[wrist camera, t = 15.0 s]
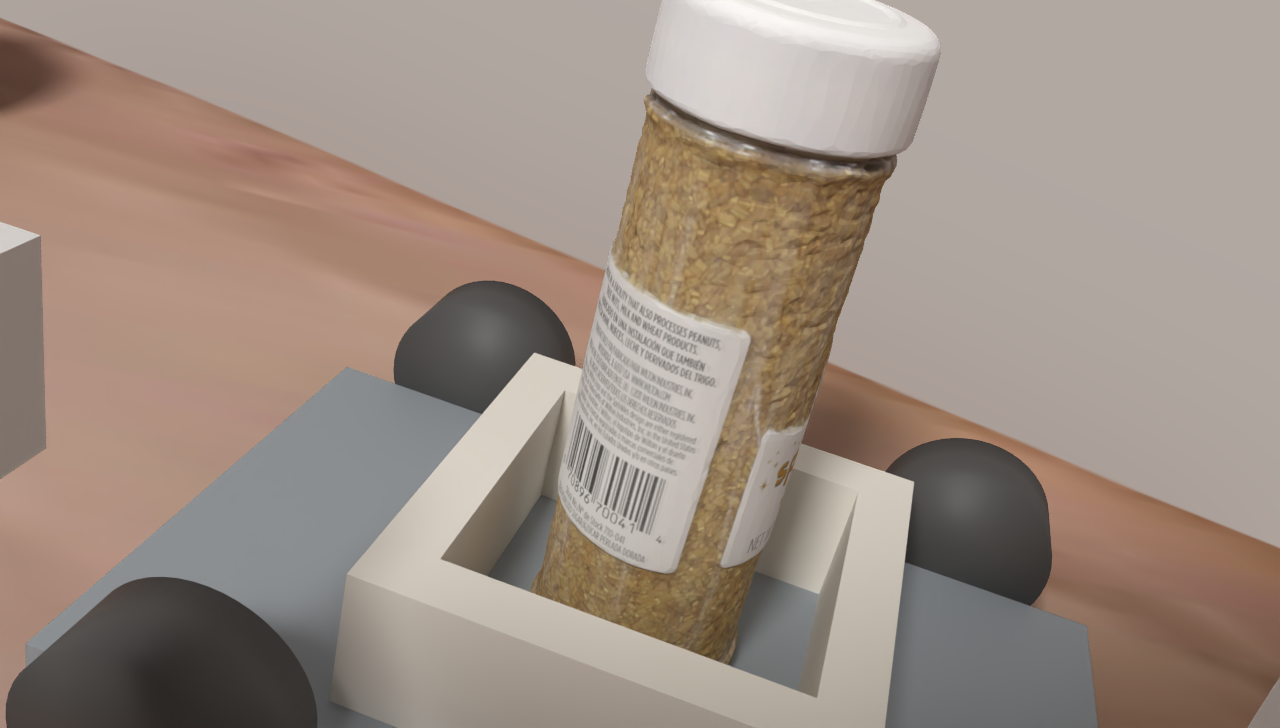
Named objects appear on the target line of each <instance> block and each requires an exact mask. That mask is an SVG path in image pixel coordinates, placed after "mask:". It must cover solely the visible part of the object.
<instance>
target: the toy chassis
mask: <svg viewBox="0 0 1280 728" xmlns="http://www.w3.org/2000/svg"><path fill="white" fill-rule="evenodd" d="M581 373H582V369H581V368H578V367H575V356H574V350H573V346H572V343H571V340H570V338H569V335H568V333H567V331H566V329H565V327H564V325H563V324H562V322H561V321H560V320H559V318H558V317H557V315H556V314H555V313H554V312H553V311H552V310H551V309H550V307H548V306H547V305H546V304H545V303H544V302H543V301H542V300H540V299H539V298H537V297H536V296H535V295H533V294H532V293H530V292H528V291H526V290H524V289H522V288H520V287H517V286H515V285H512V284H508V283H504V282H498V281H477V282H472V283H468V284H464V285H462V286H460V287H458V288H456V289H454V290H452V291H451V292H449V293H448V294H447V295H446V296H445V297H443V298H442V299H441V300H440V301H439V302H438V303H437V304H436V305H434V306H433V307H432V308H431V309H430V310H429V311H428V312H427V313H425V314H424V315H423V316H422V317H421V318H420V319H419V320H418V321H416V322H415V323H414V324H413V325H412V326H411V327H410V328H409V329H408V330H407V332H406V333H405V334H404V336H403V337H402V339H401V341H400V343H399V345H398V348H397V351H396V355H395V360H394V380H395V384H394V383H391V382H388V381H385V380H383V379H380V378H377V377H374V376H371V375H368V374H365V373H363V372H360V371H357V370H354V369H351V368H348V367H346V368H345V369H344V370H343V371H342V372H340V373H339V374H338V375H337V376H336V377H335V378H334V379H332V380H331V381H330V382H329V383H328V384H327V385H325V386H324V387H323V388H322V389H321V390H320V391H318V392H317V393H316V394H315V395H314V396H313V397H311V398H310V399H309V400H308V401H307V402H306V403H305V404H303V405H302V406H301V407H300V408H299V409H298V410H296V411H295V412H294V413H293V414H292V415H291V416H289V417H288V418H287V419H286V420H285V421H284V422H282V423H281V424H280V425H279V426H278V427H277V428H275V429H274V430H273V431H272V432H271V433H270V434H269V435H267V436H266V437H265V438H264V439H263V440H262V441H260V442H259V443H258V444H257V445H256V446H255V447H253V448H252V449H251V450H250V451H249V452H248V453H246V454H245V455H244V456H243V457H242V458H241V459H239V460H238V461H237V462H236V463H235V464H234V465H233V466H231V467H230V468H229V469H228V470H227V471H226V472H224V473H223V474H222V475H221V476H220V477H219V478H217V479H216V480H215V481H214V482H213V483H212V484H210V485H209V486H208V487H207V488H206V489H205V490H204V491H202V492H201V493H200V494H199V495H198V496H197V497H195V498H194V499H193V500H192V501H191V502H190V503H188V504H187V505H186V506H185V507H184V508H183V509H181V510H180V511H179V512H178V513H177V514H176V515H174V516H173V517H172V518H171V519H170V520H169V521H168V522H166V523H165V524H164V525H163V526H162V527H161V528H159V529H158V530H157V531H156V532H155V533H154V534H152V535H151V536H150V537H149V538H148V539H147V540H145V541H144V542H143V543H142V544H141V545H140V546H138V547H137V548H136V549H135V550H134V551H133V552H132V553H130V554H129V555H128V556H127V557H126V558H125V559H123V560H122V561H121V562H120V563H119V564H118V565H116V566H115V567H114V568H113V569H112V570H111V571H109V572H108V573H107V574H106V575H105V576H104V577H103V578H101V579H100V580H99V581H98V582H97V583H96V584H94V585H93V586H92V587H91V588H90V589H89V590H87V591H86V592H85V593H84V594H83V595H82V596H80V597H79V598H78V599H77V600H76V601H75V602H73V603H72V604H71V605H70V606H69V607H68V608H67V609H65V610H64V611H63V612H62V613H61V614H60V615H58V616H57V617H56V618H55V619H54V620H53V621H51V622H50V623H49V624H48V625H47V626H46V627H44V628H43V629H42V630H41V631H40V632H39V633H37V634H36V635H35V636H34V637H33V638H32V639H31V640H29V641H28V642H27V643H26V668H25V669H24V670H23V671H22V672H20V674H19V675H18V676H17V678H16V679H15V681H14V682H13V684H12V686H11V689H10V691H9V694H8V698H7V703H6V724H7V728H1098V721H1097V712H1096V703H1095V694H1094V686H1093V677H1092V668H1091V659H1090V650H1089V641H1088V632H1087V626H1086V625H1083V624H1080V623H1077V622H1074V621H1071V620H1069V619H1066V618H1063V617H1060V616H1057V615H1054V614H1051V613H1049V612H1046V611H1043V610H1040V609H1037V608H1034V607H1031V606H1030V605H1031V604H1032V603H1034V601H1035V600H1036V599H1037V598H1038V597H1039V595H1040V594H1041V592H1042V591H1043V589H1044V587H1045V586H1046V583H1047V581H1048V578H1049V575H1050V571H1051V565H1052V550H1051V537H1050V524H1049V512H1048V503H1047V499H1046V496H1045V493H1044V490H1043V488H1042V486H1041V484H1040V482H1039V481H1038V479H1037V477H1036V476H1035V475H1034V473H1033V472H1032V471H1031V470H1030V469H1029V467H1028V466H1026V465H1025V464H1024V463H1023V462H1022V461H1021V460H1020V459H1018V458H1017V457H1016V456H1014V455H1013V454H1011V453H1010V452H1008V451H1006V450H1004V449H1002V448H1000V447H998V446H995V445H992V444H990V443H986V442H983V441H979V440H973V439H964V438H950V439H941V440H935V441H931V442H928V443H924V444H921V445H919V446H917V447H915V448H913V449H911V450H909V451H907V452H906V453H904V454H903V455H901V456H900V457H899V458H898V459H896V460H895V461H894V462H893V463H892V464H891V465H890V467H889V468H888V469H887V470H886V472H884V471H881V470H878V469H875V468H872V467H869V466H866V465H863V464H860V463H857V462H854V461H852V460H849V459H846V458H843V457H840V456H837V455H834V454H831V453H828V452H825V451H822V450H819V449H816V448H813V447H810V446H807V445H804V444H802V443H801V445H800V448H799V451H798V454H797V457H796V460H795V463H794V466H793V469H792V472H791V475H790V478H789V481H788V484H787V487H786V490H785V493H784V496H783V499H782V502H781V505H780V508H779V511H778V514H777V517H776V520H775V523H774V526H773V529H772V532H771V535H770V537H769V540H768V541H767V543H766V545H765V546H764V548H763V550H762V552H761V555H760V557H759V560H758V563H757V565H756V568H755V572H754V575H753V579H752V582H751V585H750V589H749V592H748V594H747V597H746V600H745V603H744V606H743V609H742V612H741V615H740V618H739V622H738V639H737V644H736V649H735V651H734V653H733V655H732V658H731V660H730V662H729V664H728V665H726V664H723V663H721V662H718V661H715V660H712V659H710V658H707V657H704V656H702V655H699V654H696V653H693V652H691V651H688V650H685V649H683V648H680V647H677V646H674V645H672V644H669V643H666V642H664V641H661V640H658V639H656V638H653V637H650V636H647V635H645V634H642V633H639V632H637V631H634V630H631V629H628V628H626V627H623V626H620V625H618V624H615V623H612V622H610V621H607V620H604V619H601V618H599V617H596V616H593V615H591V614H588V613H585V612H582V611H580V610H577V609H574V608H572V607H569V606H566V605H563V604H561V603H558V602H555V601H553V600H550V599H547V598H545V597H542V596H539V595H536V594H534V593H531V592H530V588H531V585H532V582H533V580H534V579H535V577H536V575H537V573H538V571H540V570H541V568H542V565H543V561H544V556H545V553H546V545H547V540H548V535H549V533H550V529H551V522H552V520H553V517H554V513H555V508H556V503H557V499H558V478H559V472H560V468H561V463H562V459H563V454H564V450H565V445H566V441H567V436H568V431H569V427H570V422H571V418H572V413H573V409H574V404H575V400H576V396H577V391H578V387H579V382H580V378H581Z"/></svg>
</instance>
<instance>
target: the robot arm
mask: <svg viewBox="0 0 1280 728" xmlns="http://www.w3.org/2000/svg"><path fill="white" fill-rule="evenodd" d="M44 449H46V421H45V383H44V345H43V308H42V270H41V236H40V235H37V234H35V233H32V232H29V231H26V230H23V229H20V228H17V227H14V226H11V225H8V224H5V223H2V222H0V479H1V478H3V477H4V476H6V475H7V474H9V473H10V472H12V471H13V470H15V469H16V468H18V467H19V466H21V465H22V464H24V463H25V462H27V461H28V460H29V459H31V458H32V457H34V456H35V455H37V454H38V453H40V452H41V451H43V450H44ZM1247 728H1280V677H1279V679H1278V680H1277V682H1276V683H1275V685H1274V686H1273V688H1272V689H1271V691H1270V693H1269V694H1268V696H1267V697H1266V699H1265V700H1264V702H1263V704H1262V705H1261V707H1260V708H1259V710H1258V711H1257V713H1256V715H1255V716H1254V718H1253V719H1252V721H1251V722H1250V724H1249V725H1248V727H1247Z"/></svg>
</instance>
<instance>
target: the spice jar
mask: <svg viewBox="0 0 1280 728" xmlns="http://www.w3.org/2000/svg"><path fill="white" fill-rule="evenodd" d="M939 58H940V43H939V40H938V38H937V37H936V35H935V34H934V32H933V31H932V30H931V29H930V28H929V27H927V26H926V25H924V24H923V23H921V22H920V21H918V20H916V19H915V18H913V17H911V16H910V15H908V14H906V13H904V12H902V11H899V10H897V9H895V8H893V7H890V6H888V5H885V4H883V3H880V2H878V1H875V0H662V2H661V6H660V9H659V14H658V17H657V22H656V26H655V30H654V34H653V38H652V43H651V47H650V51H649V55H648V60H647V64H646V70H645V75H646V79H647V81H648V83H649V84H650V85H651V87H652V89H651V93H650V95H646V96H645V98H644V104H645V107H646V111H647V112H646V119H645V123H644V126H643V130H642V131H643V132H642V136H641V138H640V140H639V143H638V147H637V152H636V157H635V161H634V165H633V171H632V175H631V182H630V184H629V187H628V189H627V197H626V202H625V204H624V207H623V211H622V218H621V222H620V227H619V231H618V234H617V238H616V239H615V241H614V242H613V244H612V246H611V249H610V253H609V257H608V261H607V265H606V270H605V274H604V279H603V283H602V287H601V292H600V296H599V300H598V305H597V309H596V313H595V317H594V322H593V326H592V330H591V334H590V339H589V343H588V347H587V352H586V356H585V360H584V365H583V369H582V373H581V378H580V382H579V387H578V391H577V396H576V400H575V404H574V409H573V413H572V418H571V422H570V427H569V431H568V436H567V441H566V445H565V450H564V454H563V459H562V463H561V468H560V472H559V478H558V499H557V503H556V508H555V513H554V517H553V520H552V522H551V529H550V533H549V535H548V540H547V545H546V553H545V556H544V561H543V565H542V568H541V570H540V571H538V573H537V575H536V577H535V579H534V580H533V582H532V585H531V588H530V592H531V593H534V594H536V595H539V596H542V597H545V598H547V599H550V600H553V601H555V602H558V603H561V604H563V605H566V606H569V607H572V608H574V609H577V610H580V611H582V612H585V613H588V614H591V615H593V616H596V617H599V618H601V619H604V620H607V621H610V622H612V623H615V624H618V625H620V626H623V627H626V628H628V629H631V630H634V631H637V632H639V633H642V634H645V635H647V636H650V637H653V638H656V639H658V640H661V641H664V642H666V643H669V644H672V645H674V646H677V647H680V648H683V649H685V650H688V651H691V652H693V653H696V654H699V655H702V656H704V657H707V658H710V659H712V660H715V661H718V662H721V663H723V664H726V665H728V664H729V662H730V660H731V658H732V655H733V653H734V651H735V649H736V644H737V639H738V622H739V618H740V615H741V612H742V609H743V606H744V603H745V600H746V597H747V594H748V592H749V589H750V585H751V582H752V579H753V575H754V572H755V568H756V565H757V563H758V560H759V557H760V555H761V552H762V550H763V548H764V546H765V545H766V543H767V541H768V540H769V537H770V535H771V532H772V529H773V526H774V523H775V520H776V517H777V514H778V511H779V508H780V505H781V502H782V499H783V496H784V493H785V490H786V487H787V484H788V481H789V478H790V475H791V472H792V469H793V466H794V463H795V460H796V457H797V454H798V451H799V448H800V445H801V442H802V439H803V436H804V433H805V430H806V427H807V424H808V421H809V418H810V415H811V412H812V409H813V405H814V402H815V400H816V397H817V394H818V391H819V388H820V385H821V382H822V379H823V375H824V372H825V369H826V366H827V362H828V358H829V355H830V351H831V347H832V342H833V334H834V332H835V327H836V324H837V320H838V317H839V315H840V313H841V309H842V306H843V304H844V301H845V299H846V296H847V294H848V291H849V287H850V284H851V282H852V278H853V275H854V272H855V270H856V267H857V264H858V261H859V258H860V255H861V253H862V250H863V245H864V241H865V238H866V236H867V234H868V233H869V230H870V226H871V223H872V218H873V213H874V210H875V207H876V206H877V204H878V202H879V199H880V193H881V189H882V186H883V185H884V182H885V181H886V180H887V179H888V178H890V176H891V175H892V173H893V171H894V169H895V167H896V164H897V159H896V158H897V156H896V154H899V153H901V152H902V151H904V150H906V149H907V148H908V147H909V146H910V144H911V143H912V142H913V139H914V136H915V133H916V130H917V127H918V124H919V121H920V119H921V116H922V113H923V110H924V107H925V104H926V101H927V97H928V94H929V91H930V88H931V85H932V81H933V78H934V75H935V72H936V69H937V65H938V62H939Z"/></svg>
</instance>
